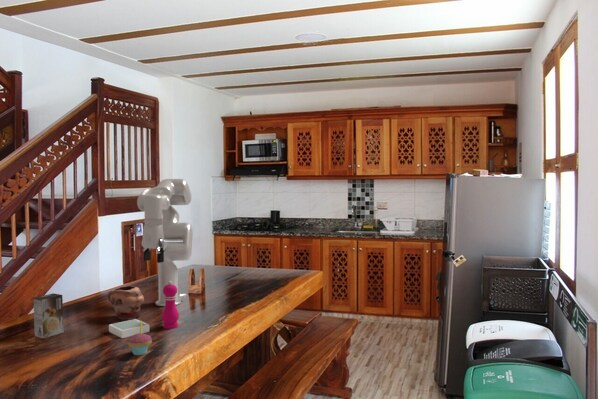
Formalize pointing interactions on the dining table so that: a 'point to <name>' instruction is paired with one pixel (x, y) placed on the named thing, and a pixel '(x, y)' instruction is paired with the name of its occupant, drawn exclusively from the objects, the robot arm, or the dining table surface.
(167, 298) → the pepper mill
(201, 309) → the dining table surface
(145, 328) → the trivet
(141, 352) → the cupcake
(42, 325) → the coffee box
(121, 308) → the decorative planter
